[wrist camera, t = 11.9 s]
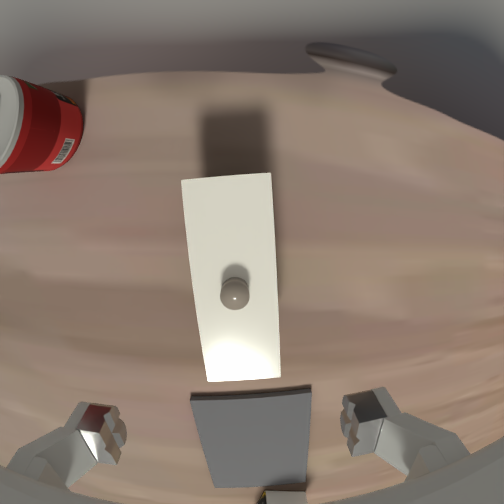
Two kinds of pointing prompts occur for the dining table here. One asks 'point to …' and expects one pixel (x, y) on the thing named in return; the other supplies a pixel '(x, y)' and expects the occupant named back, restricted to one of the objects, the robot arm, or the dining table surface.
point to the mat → (255, 437)
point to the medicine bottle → (283, 497)
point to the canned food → (36, 127)
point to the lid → (234, 274)
